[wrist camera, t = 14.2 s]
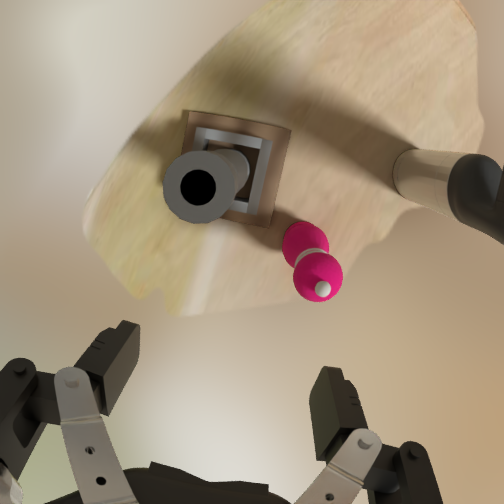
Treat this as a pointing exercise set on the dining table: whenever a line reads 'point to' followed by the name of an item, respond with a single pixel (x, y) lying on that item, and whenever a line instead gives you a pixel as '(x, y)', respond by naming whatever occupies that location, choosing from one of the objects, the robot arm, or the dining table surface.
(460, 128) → the dining table surface
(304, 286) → the pepper mill
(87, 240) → the dining table surface
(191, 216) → the candle holder
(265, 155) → the socket board
